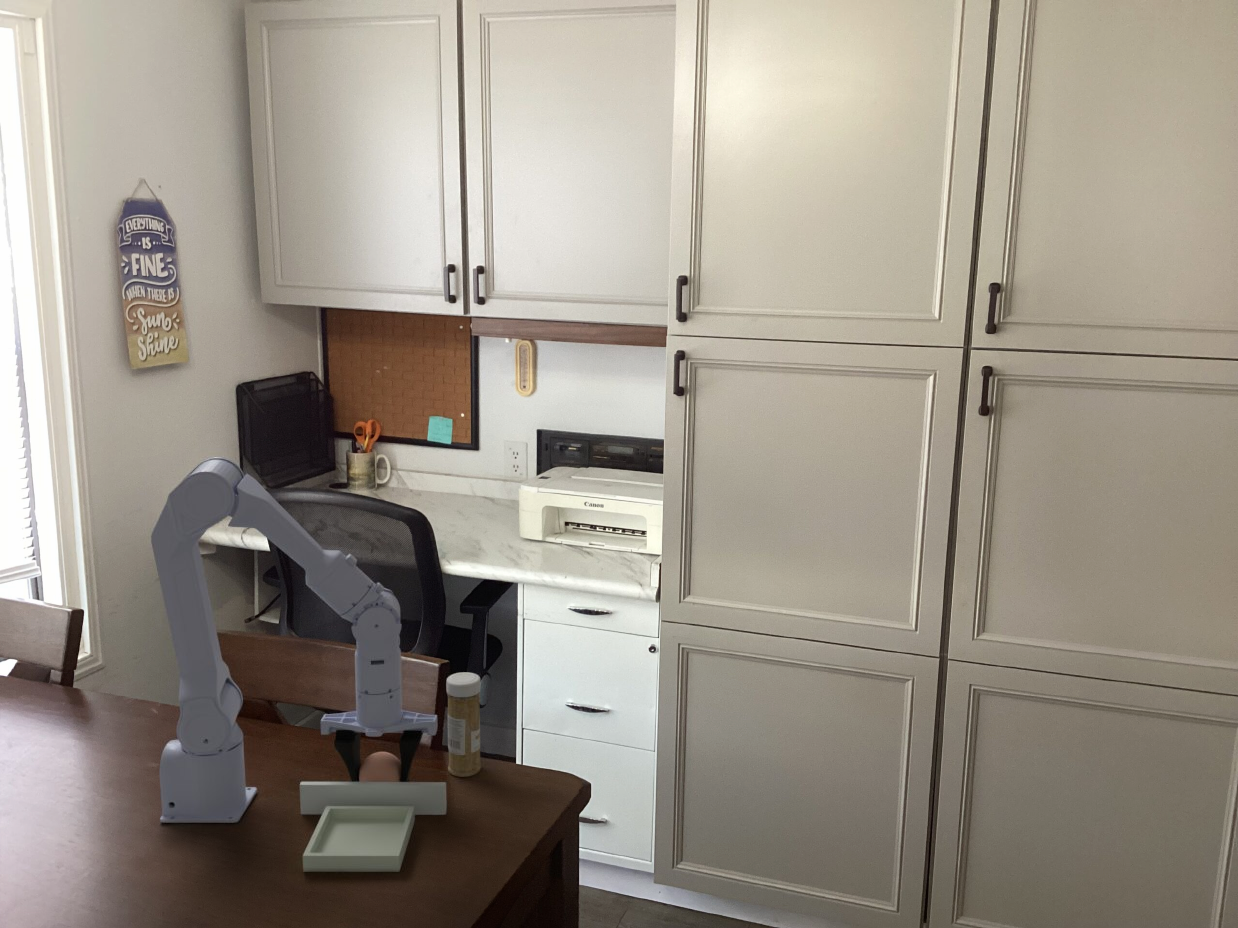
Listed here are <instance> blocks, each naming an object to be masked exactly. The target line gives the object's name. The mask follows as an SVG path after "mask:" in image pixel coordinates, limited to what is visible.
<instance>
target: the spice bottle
mask: <svg viewBox="0 0 1238 928" xmlns="http://www.w3.org/2000/svg"><path fill="white" fill-rule="evenodd" d="M481 683H482V682H481V677H480V675H478V674H477V673H474V672H468V671H467V672H464V671H463V672H456V673H453V674H450V675H448V677H447V678H446V683H445V684H446V685H445V686H446V689H445V690H446V694H447V748H448V766H447V770H448V772H449V773H450V774H452V775H453V776H455V777H461V778H465V777H471V776H474V775H476V774H478V773H479V772H480V771H481V768H482V765H481V714H480V693H481V691H482V689H481V687H482V686H481V685H482V684H481Z"/></svg>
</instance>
